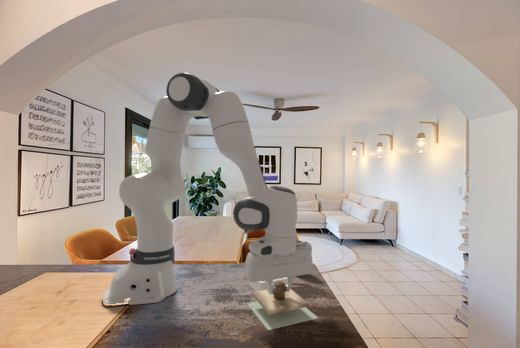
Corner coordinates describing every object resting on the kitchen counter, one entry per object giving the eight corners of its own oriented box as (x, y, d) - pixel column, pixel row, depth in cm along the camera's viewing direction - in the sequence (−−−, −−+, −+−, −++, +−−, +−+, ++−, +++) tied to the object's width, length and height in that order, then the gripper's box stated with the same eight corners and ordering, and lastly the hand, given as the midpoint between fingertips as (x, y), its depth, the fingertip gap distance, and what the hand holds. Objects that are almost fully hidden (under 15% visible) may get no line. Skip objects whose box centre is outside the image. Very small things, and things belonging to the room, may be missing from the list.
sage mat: (268, 331, 71) (268, 330, 71) (246, 304, 84) (246, 303, 84) (318, 319, 76) (318, 317, 76) (290, 296, 90) (290, 294, 90)
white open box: (260, 298, 89) (260, 283, 89) (248, 286, 98) (249, 272, 98) (288, 293, 93) (288, 278, 93) (274, 282, 102) (274, 268, 102)
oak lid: (268, 314, 73) (269, 296, 72) (251, 294, 84) (252, 278, 83) (308, 306, 77) (309, 289, 77) (287, 288, 88) (287, 273, 88)
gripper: (306, 238, 87) (304, 282, 87) (243, 244, 79) (242, 292, 79) (317, 243, 81) (316, 291, 82) (251, 250, 73) (250, 303, 74)
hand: (279, 292), depth 80 cm, fingers closed on oak lid, 3 cm apart
